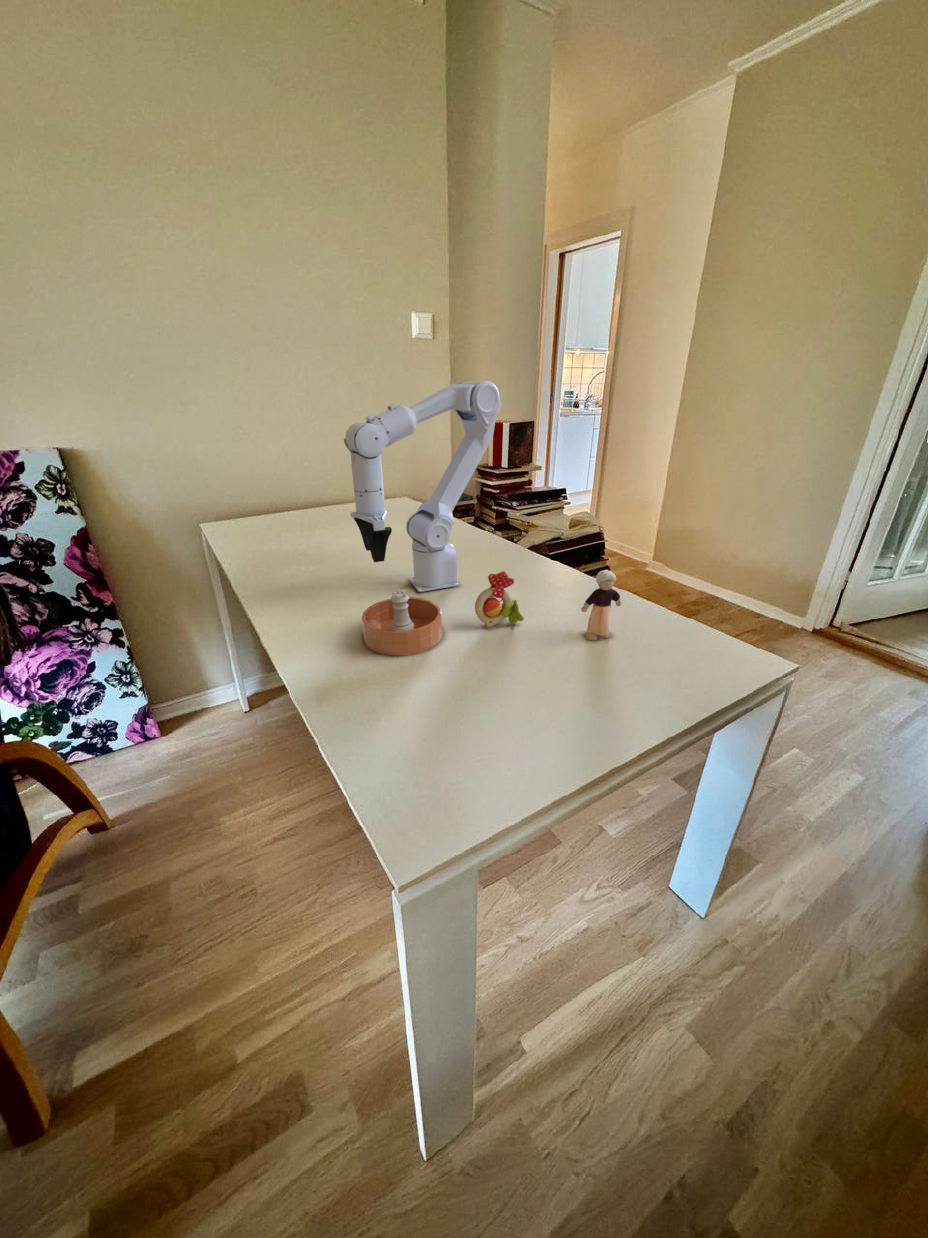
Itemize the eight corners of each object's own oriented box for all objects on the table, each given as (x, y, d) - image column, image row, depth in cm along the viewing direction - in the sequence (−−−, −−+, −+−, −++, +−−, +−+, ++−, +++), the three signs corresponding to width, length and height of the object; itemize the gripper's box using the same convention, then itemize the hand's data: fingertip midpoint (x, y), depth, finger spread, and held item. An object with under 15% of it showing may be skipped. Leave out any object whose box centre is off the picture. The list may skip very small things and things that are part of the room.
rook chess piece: (419, 631, 89) (417, 591, 85) (404, 641, 86) (401, 600, 82) (401, 625, 91) (397, 586, 87) (385, 635, 88) (381, 595, 84)
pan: (428, 612, 97) (427, 592, 95) (452, 645, 85) (452, 623, 83) (358, 625, 92) (355, 604, 90) (373, 662, 81) (370, 639, 78)
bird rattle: (496, 644, 89) (535, 617, 91) (474, 599, 83) (516, 571, 85) (481, 629, 94) (517, 604, 96) (459, 586, 88) (498, 560, 90)
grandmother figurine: (589, 644, 84) (597, 578, 79) (575, 635, 87) (582, 570, 82) (622, 634, 88) (632, 569, 82) (607, 625, 91) (616, 562, 85)
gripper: (342, 483, 98) (349, 547, 105) (354, 498, 86) (362, 569, 93) (376, 481, 101) (381, 543, 107) (393, 495, 89) (397, 564, 95)
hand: (374, 555), depth 100 cm, fingers open, 7 cm apart
